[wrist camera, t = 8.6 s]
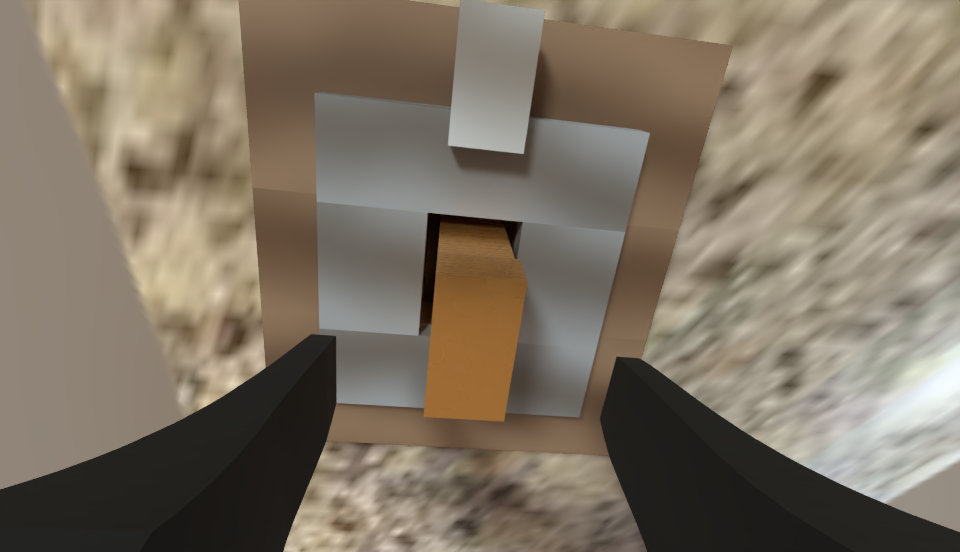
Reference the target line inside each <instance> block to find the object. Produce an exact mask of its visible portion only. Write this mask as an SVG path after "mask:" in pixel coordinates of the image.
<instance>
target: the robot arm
mask: <svg viewBox="0 0 960 552" xmlns="http://www.w3.org/2000/svg"><path fill="white" fill-rule="evenodd" d="M336 403H337V382H336V336H331V335H318V334H311V335H309V336H308V337H306V338H305V339H304V340H302V341H301V342H300V343H298V344H297V345H296V346H295V347H293V348H292V349H291V350H289V351H288V352H287V353H285V354H284V355H283V356H281V357H280V358H279V359H277V360H276V361H275V362H273V363H272V364H270V365H269V366H268V367H266V368H265V369H264V370H262V371H261V372H260V373H258V374H257V375H255V376H254V377H252V378H251V379H249V380H247V381H246V382H244V383H243V384H241V385H240V386H238V387H237V388H235V389H234V390H232V391H231V392H229V393H228V394H226V395H225V396H223V397H221V398H220V399H218V400H216V401H215V402H213V403H211V404H209V405H208V406H206V407H204V408H202V409H200V410H199V411H197V412H195V413H193V414H191V415H189V416H187V417H186V418H184V419H182V420H180V421H178V422H176V423H174V424H172V425H170V426H167V427H165V428H163V429H161V430H159V431H157V432H155V433H152V434H150V435H148V436H146V437H143V438H141V439H139V440H137V441H135V442H133V443H130V444H128V445H126V446H123V447H121V448H118V449H116V450H113V451H111V452H108V453H106V454H103V455H101V456H98V457H96V458H93V459H91V460H88V461H85V462H82V463H80V464H77V465H74V466H71V467H69V468H66V469H63V470H60V471H58V472H54V473H51V474H49V475H45V476H42V477H39V478H36V479H33V480H30V481H27V482H23V483H20V484H17V485H14V486H10V487H7V488H4V489H0V552H283V550H284V547H285V544H286V540H287V538H288V535H289V532H290V529H291V527H292V524H293V521H294V519H295V516H296V514H297V511H298V509H299V507H300V504H301V502H302V499H303V497H304V494H305V492H306V490H307V487H308V485H309V482H310V480H311V477H312V475H313V473H314V470H315V468H316V465H317V463H318V460H319V458H320V455H321V453H322V450H323V448H324V445H325V443H326V440H327V437H328V434H329V430H330V426H331V423H332V419H333V415H334V411H335V407H336ZM600 422H601V427H602V431H603V435H604V439H605V443H606V447H607V450H608V454H609V457H610V459H611V462H612V464H613V467H614V469H615V472H616V474H617V477H618V479H619V482H620V484H621V487H622V489H623V491H624V494H625V496H626V499H627V501H628V504H629V506H630V508H631V511H632V513H633V516H634V518H635V521H636V523H637V525H638V528H639V530H640V533H641V535H642V538H643V541H644V543H645V546H646V549H647V552H960V532H957V531H955V530H952V529H949V528H947V527H944V526H941V525H938V524H936V523H933V522H930V521H927V520H925V519H922V518H919V517H917V516H914V515H911V514H909V513H906V512H904V511H901V510H898V509H896V508H894V507H891V506H889V505H887V504H884V503H882V502H880V501H877V500H875V499H873V498H870V497H868V496H865V495H863V494H861V493H859V492H856V491H854V490H852V489H850V488H848V487H845V486H843V485H841V484H839V483H837V482H835V481H833V480H831V479H829V478H827V477H825V476H823V475H821V474H819V473H817V472H815V471H813V470H811V469H809V468H807V467H805V466H803V465H801V464H799V463H797V462H795V461H793V460H791V459H790V458H788V457H786V456H784V455H782V454H781V453H779V452H777V451H775V450H774V449H772V448H770V447H769V446H767V445H765V444H763V443H762V442H760V441H758V440H756V439H755V438H753V437H752V436H750V435H748V434H747V433H745V432H744V431H742V430H741V429H739V428H738V427H736V426H735V425H733V424H731V423H730V422H728V421H727V420H725V419H724V418H722V417H721V416H719V415H718V414H717V413H715V412H714V411H712V410H711V409H709V408H708V407H707V406H705V405H704V404H702V403H701V402H700V401H698V400H697V399H696V398H694V397H693V396H691V395H690V394H689V393H687V392H686V391H685V390H683V389H682V388H681V387H679V386H678V385H677V384H675V383H674V382H673V381H671V380H670V379H669V378H667V377H666V376H665V375H663V374H662V373H660V372H659V371H658V370H656V369H655V368H653V367H652V366H651V365H649V364H648V363H646V362H645V361H643V360H641V359H640V358H630V357H616V360H615V364H614V368H613V371H612V375H611V379H610V383H609V386H608V390H607V394H606V397H605V401H604V405H603V409H602V412H601V416H600Z"/></svg>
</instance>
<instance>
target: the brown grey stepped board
mask: <svg viewBox="0 0 960 552" xmlns="http://www.w3.org/2000/svg"><path fill="white" fill-rule="evenodd" d="M239 11H240V25H241V38H242V52H243V65H244V79H245V92H246V106H247V119H248V133H249V146H250V160H251V173H252V187H253V200H254V213H255V227H256V240H257V254H258V267H259V281H260V294H261V308H262V321H263V335H264V348H265V362H266V367H268V366H269V365H270V364H272V363H273V362H275V361H276V360H277V359H279V358H280V357H281V356H283V355H284V354H285V353H287V352H288V351H289V350H291V349H292V348H293V347H295V346H296V345H297V344H298V343H300V342H301V341H302V340H304V339H305V338H306V337H308V336H309V335H311V334H318V335H331V336H336V382H337V403H336V407H335V411H334V415H333V419H332V423H331V426H330V430H329V434H328V437H327V440H326V441H339V442H358V443H377V444H396V445H415V446H434V447H454V448H473V449H492V450H511V451H530V452H549V453H568V454H587V455H606V456H609V454H608V450H607V447H606V443H605V439H604V435H603V431H602V427H601V422H600V416H601V412H602V409H603V405H604V401H605V397H606V394H607V390H608V386H609V383H610V379H611V375H612V371H613V368H614V364H615V360H616V357H630V358H640V359H641V356H642V353H643V350H644V346H645V343H646V339H647V336H648V333H649V329H650V326H651V322H652V319H653V316H654V312H655V309H656V305H657V302H658V299H659V295H660V292H661V288H662V285H663V282H664V278H665V275H666V272H667V268H668V265H669V261H670V258H671V255H672V251H673V248H674V244H675V241H676V238H677V234H678V231H679V227H680V224H681V221H682V217H683V214H684V210H685V207H686V204H687V200H688V197H689V193H690V190H691V187H692V183H693V180H694V177H695V173H696V170H697V166H698V163H699V160H700V156H701V153H702V149H703V146H704V143H705V139H706V136H707V132H708V129H709V126H710V122H711V119H712V115H713V112H714V109H715V105H716V102H717V99H718V95H719V92H720V88H721V85H722V82H723V78H724V75H725V71H726V68H727V65H728V61H729V58H730V54H731V51H732V48H733V46H732V45H725V44H718V43H710V42H703V41H696V40H689V39H682V38H674V37H667V36H660V35H653V34H646V33H639V32H631V31H624V30H617V29H610V28H603V27H595V26H588V25H581V24H574V23H567V22H560V21H552V20H545V19H544V14H545V11H544V10H537V9H530V8H523V7H516V6H509V5H502V4H495V3H487V2H480V1H473V0H460V8H459V7H452V6H445V5H437V4H430V3H423V2H416V1H409V0H239ZM430 213H436V214H447V215H457V216H467V217H477V218H487V219H498V220H508V221H510V227H509V233H508V239H509V242H510V245H511V248H512V251H513V254H514V257H515V259H519V260H520V261H521V264H522V267H523V270H524V273H525V276H526V279H527V281H528V283H527V289H526V295H525V301H524V307H523V313H522V319H521V325H520V330H519V336H518V342H517V348H516V354H515V360H514V366H513V371H512V377H511V383H510V389H509V395H508V401H507V407H506V413H505V418H504V422H502V421H485V420H468V419H450V418H433V417H424V406H425V394H426V382H427V371H428V359H429V347H430V335H431V324H432V312H433V302H423V295H424V282H425V269H426V256H427V243H428V230H429V217H430Z"/></svg>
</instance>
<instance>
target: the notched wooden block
mask: <svg viewBox="0 0 960 552" xmlns="http://www.w3.org/2000/svg"><path fill="white" fill-rule="evenodd" d="M527 283H528V281H527V279H526V276H525V273H524V270H523V267H522V264H521V261H520V260H519V259H515V257H514V254H513V251H512V248H511V245H510V242H509V239H508V236H507V233H506V230H505V226H504V223H503V220H498V219H487V218H477V217H467V216H457V215H447V214H441V221H440V232H439V243H438V254H437V266H436V277H435V289H434V300H433V312H432V324H431V335H430V347H429V359H428V371H427V382H426V394H425V406H424V417H433V418H450V419H468V420H485V421H502V422H504V418H505V413H506V407H507V401H508V395H509V389H510V383H511V377H512V371H513V366H514V360H515V354H516V348H517V342H518V336H519V330H520V325H521V319H522V313H523V307H524V301H525V295H526V289H527Z"/></svg>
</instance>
